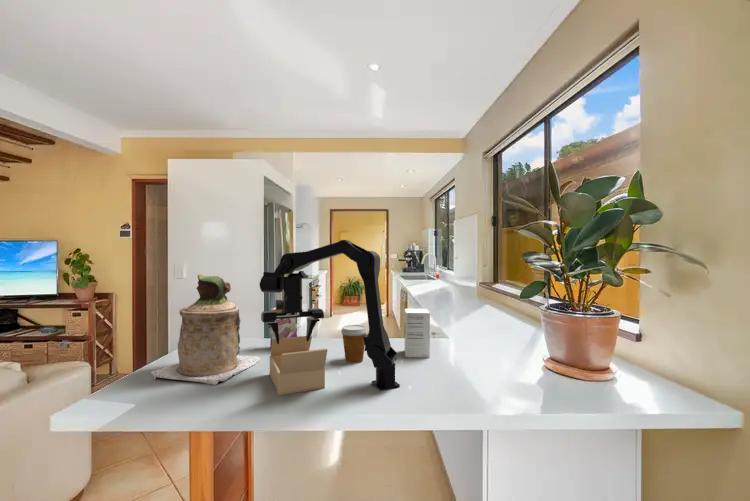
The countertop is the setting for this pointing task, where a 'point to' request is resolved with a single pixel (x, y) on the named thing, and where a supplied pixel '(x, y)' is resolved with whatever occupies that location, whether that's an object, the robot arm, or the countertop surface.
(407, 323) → the supplement box
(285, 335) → the candy bar box
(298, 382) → the carton
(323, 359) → the near flap
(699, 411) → the countertop surface
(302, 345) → the far flap
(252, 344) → the countertop surface
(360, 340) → the disposable coffee cup
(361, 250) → the robot arm
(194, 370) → the cookie jar
